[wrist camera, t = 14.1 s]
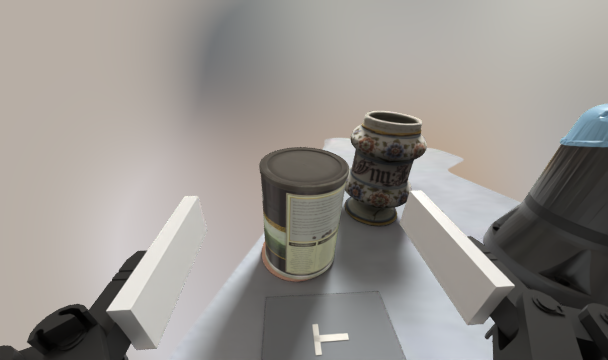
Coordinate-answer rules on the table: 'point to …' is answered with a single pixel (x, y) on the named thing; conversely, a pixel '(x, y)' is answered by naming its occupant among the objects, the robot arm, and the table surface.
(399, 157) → the apothecary jar
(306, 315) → the gray tile
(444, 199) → the table surface
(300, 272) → the coffee can
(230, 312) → the table surface
